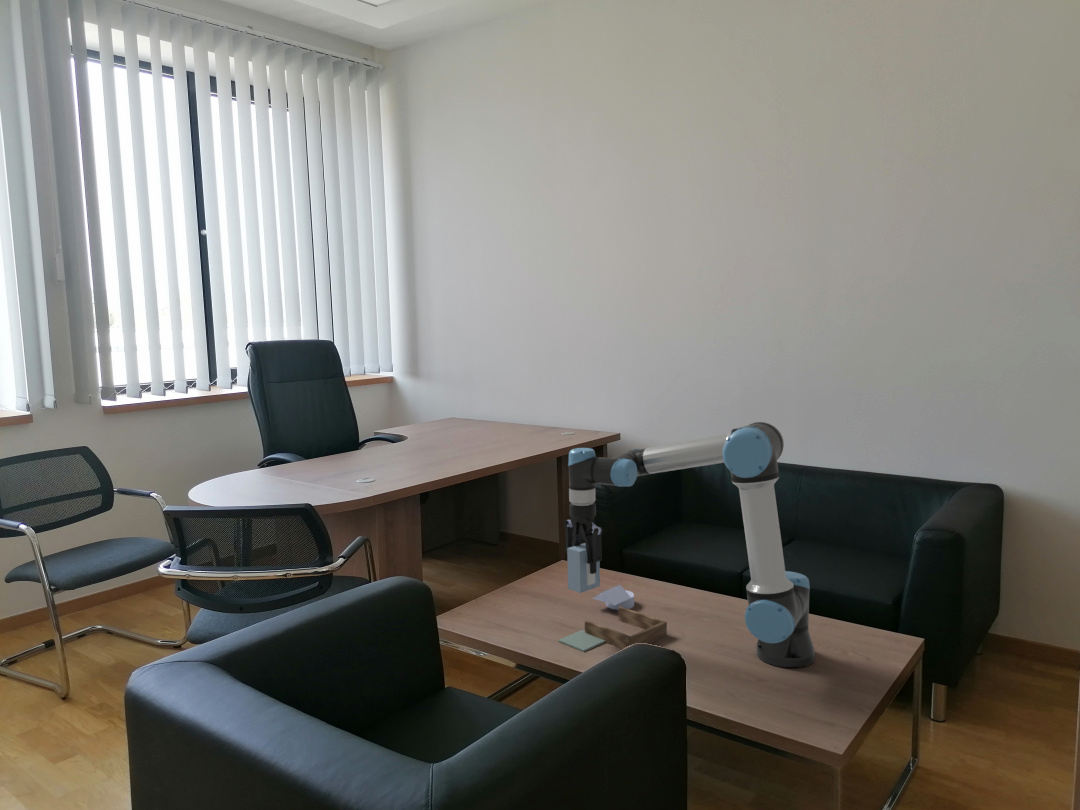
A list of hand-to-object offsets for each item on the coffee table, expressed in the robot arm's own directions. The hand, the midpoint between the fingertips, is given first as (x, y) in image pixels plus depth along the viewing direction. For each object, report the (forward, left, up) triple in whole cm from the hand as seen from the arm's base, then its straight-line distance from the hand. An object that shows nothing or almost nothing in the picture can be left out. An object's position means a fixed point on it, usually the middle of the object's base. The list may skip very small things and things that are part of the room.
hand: (584, 581), depth 228 cm
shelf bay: (-7, -9, -17) cm, 20 cm away
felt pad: (-2, +3, -17) cm, 17 cm away
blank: (0, 0, -2) cm, 2 cm away
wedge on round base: (+9, -24, -17) cm, 31 cm away
